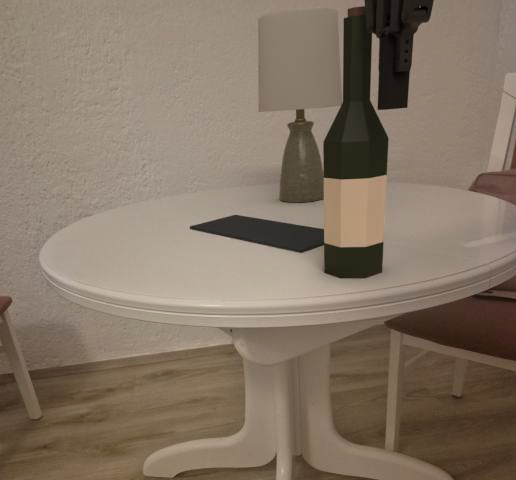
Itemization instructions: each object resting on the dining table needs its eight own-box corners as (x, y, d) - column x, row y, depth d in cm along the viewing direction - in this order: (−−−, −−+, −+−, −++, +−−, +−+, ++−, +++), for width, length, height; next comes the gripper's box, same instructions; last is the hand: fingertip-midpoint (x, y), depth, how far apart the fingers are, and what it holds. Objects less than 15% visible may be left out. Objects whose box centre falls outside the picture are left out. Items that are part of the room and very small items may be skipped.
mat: (348, 235, 82) (348, 233, 82) (301, 252, 75) (301, 249, 75) (235, 216, 103) (235, 214, 102) (189, 228, 96) (189, 226, 95)
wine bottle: (334, 282, 62) (335, 2, 49) (315, 264, 70) (310, 16, 56) (394, 273, 64) (411, -1, 50) (369, 256, 71) (377, 13, 57)
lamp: (284, 209, 106) (275, 7, 89) (252, 198, 121) (239, 23, 104) (356, 198, 111) (361, 6, 95) (317, 188, 127) (315, 22, 110)
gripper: (332, -168, 45) (332, 112, 56) (417, -260, 34) (397, 111, 45) (401, -162, 47) (388, 107, 58) (503, -247, 36) (464, 105, 47)
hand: (392, 108), depth 51 cm, fingers closed
